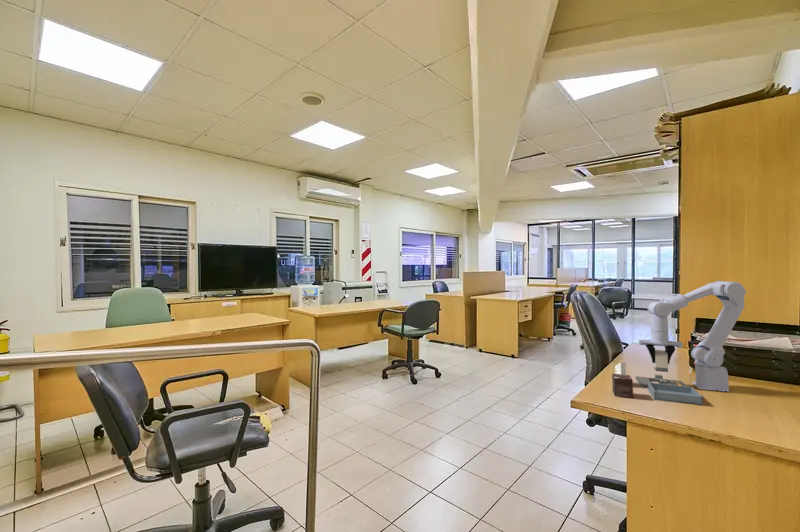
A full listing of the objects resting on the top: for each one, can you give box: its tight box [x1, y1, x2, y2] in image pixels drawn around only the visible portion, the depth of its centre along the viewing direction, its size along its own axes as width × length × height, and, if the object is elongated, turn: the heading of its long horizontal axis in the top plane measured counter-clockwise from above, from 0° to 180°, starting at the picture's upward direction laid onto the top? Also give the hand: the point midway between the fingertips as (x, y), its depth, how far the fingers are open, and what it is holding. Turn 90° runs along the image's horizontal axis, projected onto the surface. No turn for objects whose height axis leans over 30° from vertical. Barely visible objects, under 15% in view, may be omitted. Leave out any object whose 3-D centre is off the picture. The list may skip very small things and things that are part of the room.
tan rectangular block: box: [653, 349, 669, 373], centre depth 140 cm, size 4×4×8 cm
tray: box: [647, 382, 704, 406], centre depth 127 cm, size 14×11×3 cm
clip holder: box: [635, 373, 687, 388], centre depth 140 cm, size 16×11×3 cm
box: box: [611, 373, 634, 399], centre depth 131 cm, size 6×6×7 cm
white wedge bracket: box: [614, 361, 627, 375], centre depth 142 cm, size 4×10×9 cm
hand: (660, 363), depth 140 cm, fingers closed on tan rectangular block, 4 cm apart
